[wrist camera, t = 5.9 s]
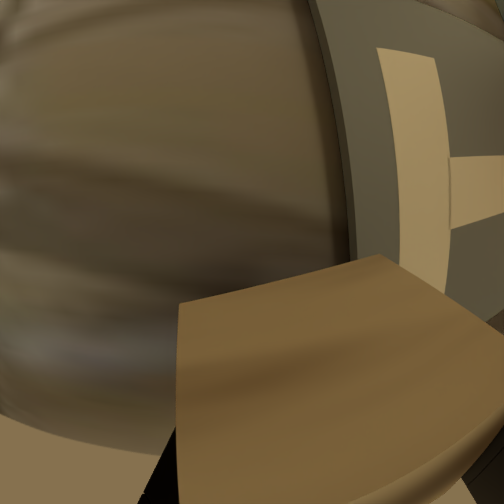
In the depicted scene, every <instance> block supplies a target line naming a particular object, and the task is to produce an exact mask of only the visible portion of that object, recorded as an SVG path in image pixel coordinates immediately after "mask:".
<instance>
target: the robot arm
mask: <svg viewBox="0 0 504 504" xmlns="http://www.w3.org/2000/svg"><path fill="white" fill-rule="evenodd" d="M461 478H462V480H463V481H464V483H465V485H466V486H467V488H468V490H469V491H470V493H471V495H472V496H473V498H474V500H475V501H476V503H477V504H504V425H503V427H502V428H501V429H500V431H499V432H498V434H497V435H496V436H495V438H494V439H493V440H492V442H491V443H490V444H489V445H488V447H487V448H486V449H485V450H484V452H483V453H482V454H481V455H480V456H479V458H478V459H477V460H476V461H475V462H474V463H473V465H472V466H471V467H470V468H469V469H468V470H467V471H466V472H465V473H464V475H463V476H462V477H461ZM137 504H180V503H179V490H178V473H177V450H176V427H175V429H174V431H173V433H172V435H171V437H170V439H169V441H168V443H167V445H166V447H165V449H164V451H163V453H162V455H161V457H160V459H159V461H158V464H157V465H156V468H155V469H154V471H153V474H152V475H151V477H150V479H149V481H148V483H147V485H146V488H145V490H144V494H142V495H141V497H140V499H139V501H138V503H137Z"/></svg>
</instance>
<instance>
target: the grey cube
mask: <svg viewBox="0 0 504 504" xmlns="http://www.w3.org/2000/svg"><path fill="white" fill-rule="evenodd" d="M495 1H496V3H497V6H498V8H499V11H500V13H501V16H502V18H503V21H504V0H495Z"/></svg>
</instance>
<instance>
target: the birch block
mask: <svg viewBox="0 0 504 504" xmlns="http://www.w3.org/2000/svg"><path fill="white" fill-rule="evenodd" d="M503 425H504V336H503V335H502V334H501V333H499V332H498V331H496V330H495V329H494V328H492V327H491V326H490V325H488V324H487V323H485V322H484V321H483V320H481V319H480V318H478V317H477V316H476V315H474V314H473V313H471V312H470V311H468V310H467V309H465V308H464V307H463V306H461V305H460V304H458V303H457V302H455V301H454V300H452V299H451V298H449V297H448V296H446V295H445V294H443V293H442V292H440V291H439V290H437V289H436V288H434V287H432V286H431V285H429V284H428V283H426V282H425V281H423V280H422V279H420V278H418V277H417V276H415V275H414V274H412V273H410V272H409V271H407V270H406V269H404V268H402V267H401V266H399V265H398V264H396V263H394V262H393V261H391V260H389V259H388V258H386V257H384V256H383V255H381V254H377V255H373V256H369V257H366V258H362V259H359V260H355V261H351V262H348V263H344V264H340V265H337V266H333V267H329V268H325V269H322V270H318V271H314V272H310V273H306V274H302V275H299V276H295V277H291V278H287V279H283V280H279V281H275V282H271V283H267V284H263V285H258V286H254V287H250V288H246V289H242V290H238V291H233V292H229V293H225V294H220V295H216V296H212V297H207V298H203V299H198V300H194V301H189V302H185V303H180V304H179V314H178V332H177V357H176V450H177V473H178V490H179V503H180V504H429V503H431V502H433V501H434V500H436V499H437V498H439V497H440V496H441V495H443V494H445V493H446V492H447V491H448V490H449V489H450V488H451V487H452V486H453V485H454V484H455V483H456V482H457V481H458V480H459V479H460V478H461V477H462V476H463V475H464V473H465V472H466V471H467V470H468V469H469V468H470V467H471V466H472V465H473V463H474V462H475V461H476V460H477V459H478V458H479V456H480V455H481V454H482V453H483V452H484V450H485V449H486V448H487V447H488V445H489V444H490V443H491V442H492V440H493V439H494V438H495V436H496V435H497V434H498V432H499V431H500V429H501V428H502V427H503Z"/></svg>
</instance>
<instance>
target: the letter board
mask: <svg viewBox="0 0 504 504" xmlns="http://www.w3.org/2000/svg"><path fill="white" fill-rule="evenodd" d="M308 3H309V6H310V10H311V13H312V17H313V20H314V24H315V27H316V31H317V35H318V39H319V43H320V47H321V51H322V55H323V59H324V64H325V68H326V73H327V77H328V82H329V87H330V92H331V97H332V103H333V108H334V114H335V120H336V126H337V132H338V139H339V145H340V153H341V160H342V168H343V176H344V185H345V195H346V205H347V217H348V230H349V246H350V262H351V261H355V260H359V259H362V258H366V257H369V256H373V255H377V254H381V255H383V256H384V257H386V258H388V259H389V260H391V261H393V262H394V263H396V264H398V265H399V266H401V267H402V268H404V269H406V270H407V271H409V272H410V273H412V274H414V275H415V276H417V277H418V278H420V279H422V280H423V281H425V282H426V283H428V284H429V285H431V286H432V287H434V288H436V289H437V290H439V291H440V292H442V293H443V294H445V295H446V296H448V297H449V298H451V299H452V300H454V301H455V302H457V303H458V304H460V305H461V306H463V307H464V308H465V309H467V310H468V311H470V312H471V313H473V314H474V315H476V316H477V317H478V318H480V319H481V320H483V321H484V322H486V321H488V320H489V319H490V318H492V317H493V316H495V315H496V314H497V313H499V312H500V311H501V310H503V309H504V42H503V41H502V40H500V39H498V38H497V37H495V36H493V35H491V34H490V33H488V32H486V31H484V30H482V29H480V28H478V27H477V26H475V25H473V24H471V23H469V22H466V21H464V20H462V19H460V18H458V17H456V16H453V15H451V14H449V13H447V12H444V11H442V10H439V9H437V8H434V7H432V6H429V5H426V4H423V3H421V2H418V1H415V0H308Z"/></svg>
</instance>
